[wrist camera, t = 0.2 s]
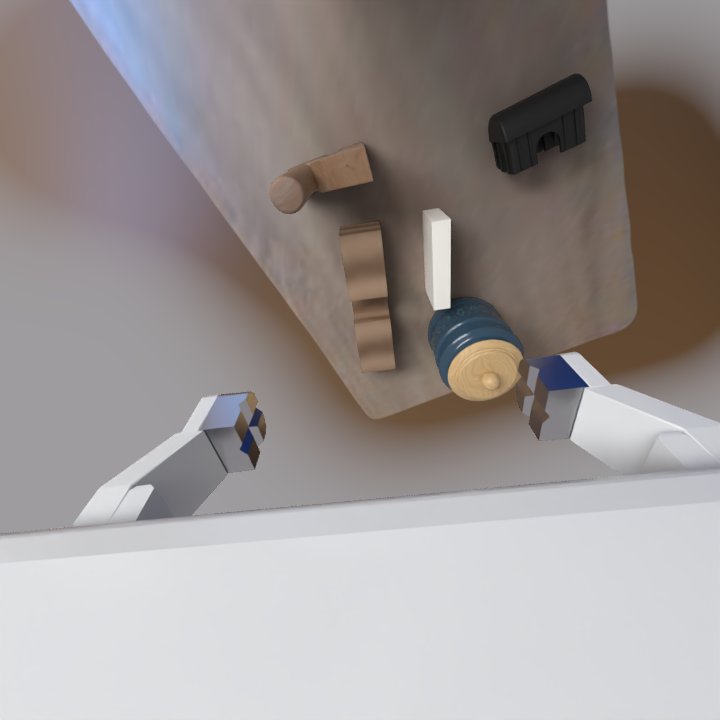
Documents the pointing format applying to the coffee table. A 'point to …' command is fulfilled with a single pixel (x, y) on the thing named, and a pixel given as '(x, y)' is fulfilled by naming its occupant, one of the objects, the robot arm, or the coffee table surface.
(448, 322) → the canister
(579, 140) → the end cap
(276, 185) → the wooden block
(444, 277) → the white rectangular slab
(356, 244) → the walnut crossbar
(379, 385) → the coffee table surface
